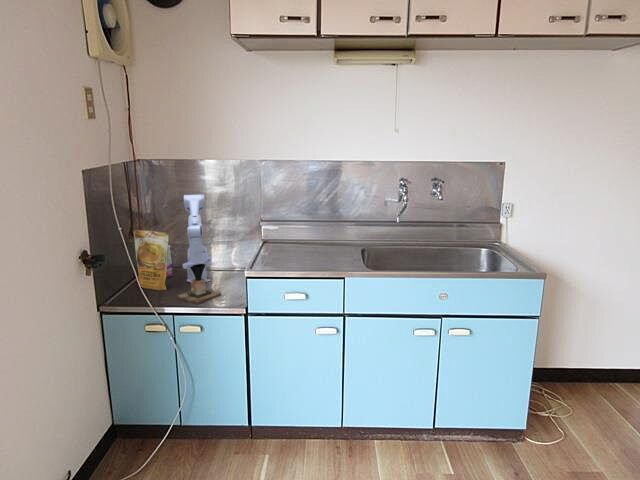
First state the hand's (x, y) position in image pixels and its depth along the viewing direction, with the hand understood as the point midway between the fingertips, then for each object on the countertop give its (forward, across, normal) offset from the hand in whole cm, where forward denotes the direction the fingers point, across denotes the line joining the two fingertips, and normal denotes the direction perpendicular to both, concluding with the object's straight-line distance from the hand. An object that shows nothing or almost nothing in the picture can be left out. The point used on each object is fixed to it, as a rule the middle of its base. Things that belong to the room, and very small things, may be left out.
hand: (198, 280), depth 217 cm
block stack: (+7, 0, 0) cm, 7 cm away
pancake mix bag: (+8, -5, +28) cm, 30 cm away
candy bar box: (+8, +6, +37) cm, 38 cm away
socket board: (+8, 0, 0) cm, 8 cm away
